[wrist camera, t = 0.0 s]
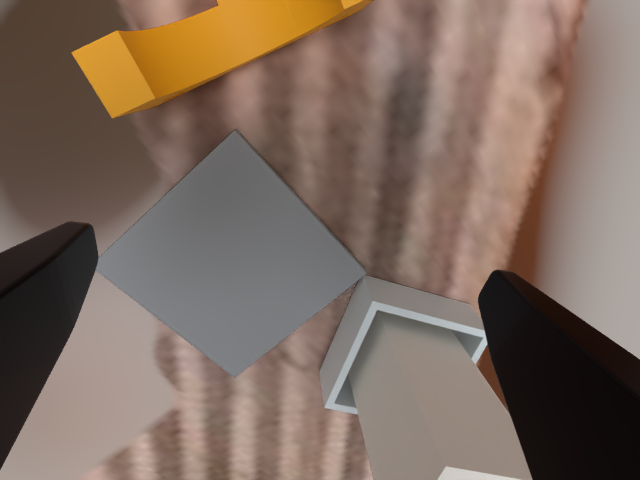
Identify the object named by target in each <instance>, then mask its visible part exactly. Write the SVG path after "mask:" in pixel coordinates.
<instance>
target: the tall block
mask: <svg viewBox="0 0 640 480" xmlns="http://www.w3.org/2000/svg"><path fill="white" fill-rule="evenodd" d="M348 375H349V379H350V383H351V387H352V392H353V396H354V400H355V404H356V408H357V412H358V417H359V421H360V425H361V429H362V433H363V437H364V442H365V446H366V450H367V454H368V458H369V463H370V467H371V471H372V475H373V479H374V480H532V477H531V474H530V471H529V468H528V466H527V463H526V460H525V457H524V454H523V451H522V448H521V445H520V442H519V439H518V436H517V433H516V431H515V428H514V425H513V422H512V419H511V416H510V415H509V413H508V412H507V410H506V409H505V407H504V406H503V404H502V403H501V401H500V400H499V399H498V397H497V396H496V394H495V393H494V391H493V390H492V388H491V387H490V385H489V384H488V383H487V381H486V380H485V378H484V377H483V375H482V374H481V372H480V371H479V369H478V368H477V366H476V365H475V364H474V362H473V361H472V359H471V358H470V356H469V355H468V353H467V352H466V350H465V349H464V347H463V346H462V345H461V343H460V342H459V340H458V339H457V337H456V336H455V334H454V333H453V331H452V330H451V329H448V328H445V327H441V326H437V325H433V324H429V323H425V322H422V321H418V320H414V319H410V318H406V317H402V316H399V315H395V314H391V313H387V312H383V311H379V310H377V311H376V314H375V316H374V318H373V320H372V322H371V324H370V327H369V329H368V331H367V333H366V335H365V337H364V340H363V342H362V344H361V346H360V348H359V350H358V353H357V355H356V357H355V359H354V361H353V363H352V366H351V368H350V370H349V372H348Z"/></svg>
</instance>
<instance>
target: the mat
mask: <svg viewBox="0 0 640 480" xmlns="http://www.w3.org/2000/svg"><path fill="white" fill-rule="evenodd" d="M96 271H97V272H99V273H100V274H101V275H102V276H104V277H105V278H106V279H108V280H109V281H110V282H112V283H113V284H114V285H115V286H117V287H118V288H119V289H120V290H122V291H123V292H124V293H126V294H127V295H128V296H130V297H131V298H132V299H133V300H135V301H136V302H137V303H139V304H140V305H141V306H142V307H144V308H145V309H146V310H148V311H149V312H150V313H151V314H153V315H154V316H155V317H157V318H158V319H159V320H160V321H162V322H163V323H164V324H166V325H167V326H168V327H169V328H171V329H172V330H173V331H175V332H176V333H177V334H178V335H180V336H181V337H182V338H184V339H185V340H186V341H188V342H189V343H190V344H191V345H193V346H194V347H195V348H197V349H198V350H199V351H200V352H202V353H203V354H204V355H206V356H207V357H208V358H209V359H211V360H212V361H213V362H215V363H216V364H217V365H218V366H220V367H221V368H222V369H224V370H225V371H226V372H227V373H229V374H230V375H231V376H233V377H234V378H235V377H236V376H237V375H239V374H240V373H241V372H242V371H244V370H245V369H246V368H248V367H249V366H250V365H251V364H253V363H254V362H255V361H256V360H258V359H259V358H260V357H262V356H263V355H264V354H265V353H267V352H268V351H269V350H270V349H272V348H273V347H274V346H276V345H277V344H278V343H279V342H281V341H282V340H283V339H284V338H286V337H287V336H288V335H290V334H291V333H292V332H293V331H295V330H296V329H297V328H298V327H300V326H301V325H302V324H303V323H305V322H306V321H307V320H309V319H310V318H311V317H312V316H314V315H315V314H316V313H317V312H319V311H320V310H321V309H323V308H324V307H325V306H326V305H328V304H329V303H330V302H331V301H333V300H334V299H335V298H337V297H338V296H339V295H340V294H342V293H343V292H344V291H345V290H347V289H348V288H349V287H350V286H352V285H353V284H354V283H356V282H357V281H358V280H359V279H361V278H362V277H363V276H364V275H366V274H367V272H366V270H365V268H364V267H363V266H362V265H361V263H360V262H359V261H358V260H357V259H356V258H355V257H354V256H353V255H352V254H351V253H350V252H349V250H348V249H347V248H346V247H345V246H344V245H343V244H342V243H341V242H340V241H339V240H338V239H337V237H336V236H335V235H334V234H333V233H332V232H331V231H330V230H329V229H328V228H327V227H326V226H325V225H324V223H323V222H322V221H321V220H320V219H319V218H318V217H317V216H316V215H315V214H314V213H313V212H312V210H311V209H310V208H309V207H308V206H307V205H306V204H305V203H304V202H303V201H302V200H301V199H300V197H299V196H298V195H297V194H296V193H295V192H294V191H293V190H292V189H291V188H290V187H289V186H288V184H287V183H286V182H285V181H284V180H283V179H282V178H281V177H280V176H279V175H278V174H277V173H276V172H275V170H274V169H273V168H272V167H271V166H270V165H269V164H268V163H267V162H266V161H265V160H264V159H263V157H262V156H261V155H260V154H259V153H258V152H257V151H256V150H255V149H254V148H253V147H252V146H251V144H250V143H249V142H248V141H247V140H246V139H245V138H244V137H243V136H242V135H241V134H240V133H239V132H238V130H237V129H235V130H234V131H233V132H232V133H231V134H230V135H229V136H227V137H226V138H225V139H224V140H223V141H222V142H221V143H220V144H219V145H218V146H217V147H216V148H215V149H214V150H213V151H211V152H210V153H209V154H208V155H207V156H206V157H205V158H204V159H203V160H202V161H201V162H200V163H199V164H198V165H197V166H196V167H194V168H193V169H192V170H191V171H190V172H189V173H188V174H187V175H186V176H185V177H184V178H183V179H182V180H181V181H180V182H179V183H177V184H176V185H175V186H174V187H173V188H172V189H171V190H170V191H169V192H168V193H167V194H166V195H165V196H164V197H163V198H161V199H160V200H159V201H158V202H157V203H156V204H155V205H154V206H153V207H152V208H151V209H150V210H149V211H148V212H147V213H146V214H144V215H143V216H142V217H141V218H140V219H139V220H138V221H137V222H136V223H135V224H134V225H133V226H132V227H131V228H130V229H128V230H127V231H126V232H125V233H124V234H123V235H122V236H121V237H120V238H119V239H118V240H117V241H116V242H115V243H114V244H113V245H111V247H109V248H108V249H107V250H106V251H105V252H104V253H103V254H102V255H101V256H100V257H99V258H98V264H97V267H96Z"/></svg>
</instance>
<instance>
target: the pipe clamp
mask: <svg viewBox="0 0 640 480" xmlns="http://www.w3.org/2000/svg"><path fill="white" fill-rule="evenodd" d="M372 1H373V0H217V2H218V4H219V5H218V6H216V7H214V8H212V9H209V10H207V11H204V12H202V13H199V14H197V15H194V16H192V17H189V18H186V19H183V20H180V21H177V22H174V23H171V24H167V25H164V26H160V27H156V28H152V29H147V30H140V31H118V30H117V31H115V32H113V33H111V34H109V35H107V36H105V37H103V38H100V39H98V40H97V41H95V42H92V43H90V44H88V45H86V46H84V47H82V48H80V49H78V50H76V51H74V52H72V54H73V56H74V57H75V59H76V61H77V62H78V64H79V65H80V67H81V69H82V70H83V72H84V73H85V75H86V77H87V78H88V80H89V82H90V83H91V85H92V87H93V88H94V90H95V91H96V93H97V95H98V96H99V98H100V99H101V101H102V103H103V104H104V106H105V107H106V109H107V111H108V112H109V114H110V116H111V117H112V118H116V117H119V116H123V115H127V114H130V113H134V112H138V111H141V110H145V109H148V108H152V107H156V106H158V105H160V104H162V103H164V102H166V101H169V100H171V99H173V98H175V97H177V96H179V95H181V94H183V93H186V92H188V91H190V90H192V89H194V88H196V87H198V86H201V85H203V84H205V83H207V82H209V81H211V80H213V79H215V78H218V77H220V76H222V75H224V74H226V73H228V72H230V71H233V70H235V69H237V68H239V67H241V66H243V65H245V64H247V63H250V62H252V61H254V60H256V59H258V58H260V57H262V56H265V55H267V54H269V53H271V52H273V51H275V50H277V49H279V48H282V47H284V46H286V45H288V44H290V43H292V42H294V41H297V40H299V39H301V38H303V37H305V36H307V35H309V34H311V33H314V32H316V31H318V30H320V29H322V28H324V27H326V26H329V25H331V24H333V23H335V22H337V21H339V20H341V19H343V18H346V17H348V16H350V15H352V14H354V13H356V12H358V11H360V10H361V9H363V8H364V7H365V6H367V5H368V4H369V3H371V2H372Z"/></svg>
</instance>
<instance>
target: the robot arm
mask: <svg viewBox="0 0 640 480" xmlns="http://www.w3.org/2000/svg"><path fill="white" fill-rule="evenodd" d="M97 264H98V250H97V245H96V239H95V233H94V229H93V227H92V225H90V224H89V223H82V222H74V221H69V222H66V223H64V224H62V225H59V226H57V227H55V228H53V229H51V230H49V231H47V232H44V233H42V234H40V235H38V236H36V237H33V238H31V239H29V240H27V241H25V242H23V243H20V244H18V245H16V246H14V247H12V248H10V249H7V250H5V251H3V252H1V253H0V469H1V468H2V466H3V464H4V462H5V460H6V458H7V456H8V454H9V452H10V450H11V448H12V446H13V444H14V443H15V441H16V439H17V437H18V435H19V433H20V431H21V429H22V427H23V425H24V423H25V421H26V419H27V417H28V415H29V413H30V412H31V410H32V408H33V406H34V404H35V402H36V400H37V398H38V396H39V394H40V393H41V391H42V389H43V387H44V385H45V383H46V381H47V379H48V377H49V375H50V373H51V371H52V369H53V368H54V366H55V364H56V362H57V360H58V358H59V356H60V354H61V352H62V350H63V348H64V346H65V344H66V342H67V341H68V338H69V337H70V334H71V332H72V330H73V328H74V326H75V323H76V321H77V318H78V316H79V313H80V310H81V308H82V305H83V302H84V299H85V297H86V294H87V292H88V289H89V286H90V283H91V281H92V278H93V275H94V273H95V270H96V267H97ZM478 304H479V309H480V313H481V318H482V322H483V326H484V331H485V335H486V340H487V344H488V348H489V352H490V356H491V360H492V363H493V366H494V369H495V372H496V375H497V378H498V381H499V384H500V387H501V390H502V393H503V396H504V399H505V401H506V404H507V407H508V410H509V413H510V416H511V419H512V422H513V425H514V428H515V431H516V433H517V436H518V439H519V442H520V445H521V448H522V451H523V454H524V457H525V460H526V463H527V466H528V468H529V471H530V474H531V477H532V480H640V359H638V358H637V357H635V356H634V355H633V354H631V353H630V352H628V351H627V350H625V349H624V348H622V347H621V346H619V345H618V344H617V343H615V342H614V341H612V340H611V339H609V338H608V337H607V336H605V335H604V334H602V333H601V332H599V331H598V330H596V329H595V328H594V327H592V326H590V325H589V324H588V323H586V322H585V321H583V320H582V319H580V318H579V317H577V316H576V315H575V314H573V313H572V312H570V311H569V310H568V309H566V308H565V307H563V306H562V305H560V304H559V303H557V302H556V301H554V300H553V299H552V298H550V297H549V296H547V295H546V294H544V293H543V292H541V291H540V290H539V289H537V288H536V287H534V286H533V285H531V284H530V283H528V282H527V281H526V280H524V279H523V278H521V277H520V276H518V275H517V274H515V273H514V272H512V271H506V270H495V271H493V272H492V273H491V274H490V276H489V278H488V280H487V281H486V283H485V285H484V287H483V288H482V290H481V292H480V294H479V297H478Z"/></svg>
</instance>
